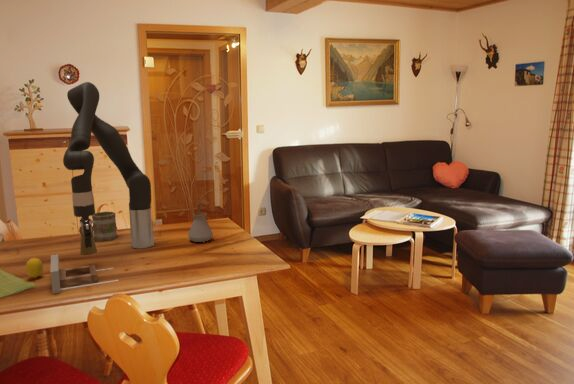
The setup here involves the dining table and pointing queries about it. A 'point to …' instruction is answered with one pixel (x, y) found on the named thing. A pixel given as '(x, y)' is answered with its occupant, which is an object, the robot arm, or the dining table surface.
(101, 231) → the mug
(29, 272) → the lemon
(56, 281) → the backstop
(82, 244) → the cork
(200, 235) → the coffee pot
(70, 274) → the socket block
